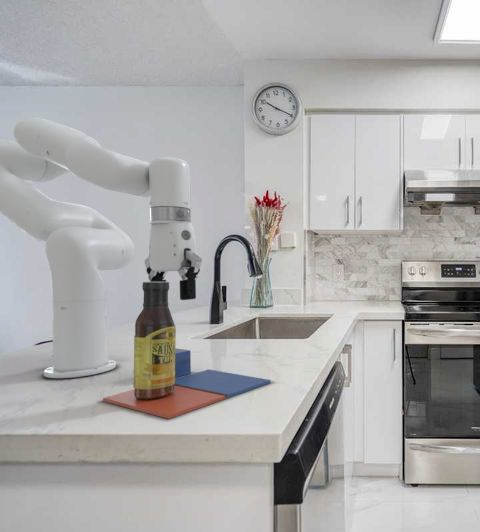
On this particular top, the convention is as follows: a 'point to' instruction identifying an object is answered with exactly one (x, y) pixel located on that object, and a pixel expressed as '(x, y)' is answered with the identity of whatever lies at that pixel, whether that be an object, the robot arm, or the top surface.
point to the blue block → (182, 362)
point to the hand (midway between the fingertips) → (173, 298)
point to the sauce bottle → (154, 344)
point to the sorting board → (190, 393)
